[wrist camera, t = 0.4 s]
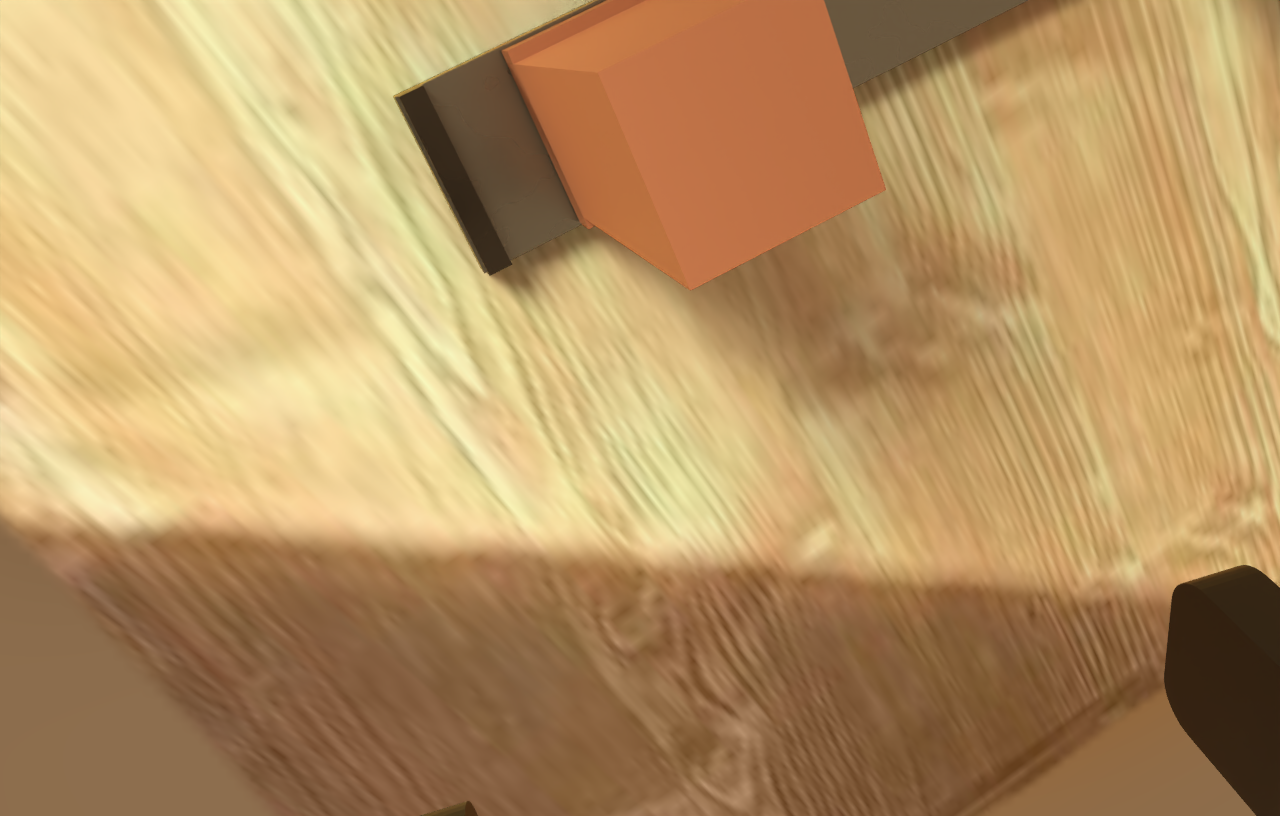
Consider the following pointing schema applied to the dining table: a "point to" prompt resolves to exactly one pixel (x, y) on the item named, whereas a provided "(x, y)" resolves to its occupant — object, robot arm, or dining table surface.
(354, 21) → the dining table surface
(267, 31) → the dining table surface
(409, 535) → the dining table surface
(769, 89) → the block
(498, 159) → the rail
